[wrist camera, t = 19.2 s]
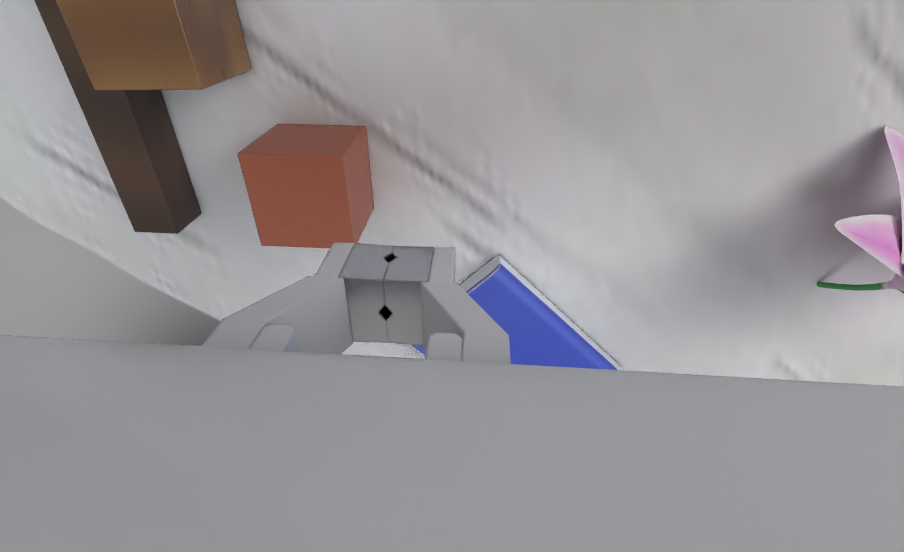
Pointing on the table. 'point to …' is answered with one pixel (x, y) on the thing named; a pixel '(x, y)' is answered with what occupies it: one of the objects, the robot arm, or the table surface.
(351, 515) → the robot arm
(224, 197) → the table surface
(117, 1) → the oak block
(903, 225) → the lily
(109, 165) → the straightedge
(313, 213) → the terracotta block
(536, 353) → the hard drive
